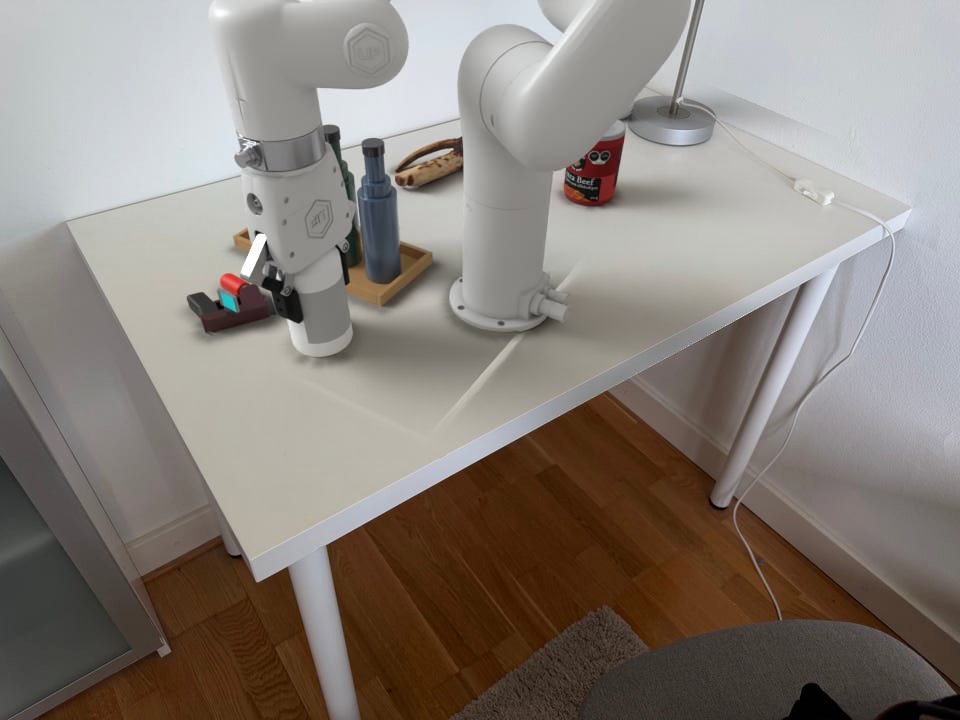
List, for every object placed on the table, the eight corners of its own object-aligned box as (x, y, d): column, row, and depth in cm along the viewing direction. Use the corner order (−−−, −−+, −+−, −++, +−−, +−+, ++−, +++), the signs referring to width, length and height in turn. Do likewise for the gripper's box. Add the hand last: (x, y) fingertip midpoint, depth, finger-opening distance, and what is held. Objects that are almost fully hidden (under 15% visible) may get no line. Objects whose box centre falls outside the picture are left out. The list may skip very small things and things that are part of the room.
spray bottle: (341, 362, 75) (314, 219, 63) (283, 354, 76) (245, 211, 64) (361, 323, 80) (340, 183, 68) (306, 315, 81) (275, 176, 69)
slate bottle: (408, 270, 88) (402, 139, 76) (387, 288, 85) (376, 155, 73) (380, 259, 90) (369, 130, 78) (358, 276, 87) (343, 144, 75)
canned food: (552, 192, 106) (559, 123, 98) (587, 177, 110) (596, 109, 102) (589, 212, 101) (600, 141, 94) (624, 195, 105) (637, 126, 98)
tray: (433, 265, 90) (432, 252, 89) (381, 310, 83) (380, 296, 82) (293, 213, 99) (291, 200, 98) (235, 249, 92) (232, 236, 90)
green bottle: (369, 255, 91) (357, 126, 79) (347, 272, 88) (331, 141, 76) (342, 245, 92) (326, 117, 80) (319, 261, 89) (299, 131, 77)
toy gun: (305, 314, 82) (299, 281, 79) (201, 343, 78) (190, 309, 75) (282, 272, 88) (276, 239, 85) (185, 296, 84) (174, 263, 81)
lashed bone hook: (452, 147, 117) (370, 180, 107) (452, 120, 114) (368, 151, 104) (492, 164, 112) (411, 200, 102) (493, 136, 109) (409, 170, 99)
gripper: (243, 195, 55) (285, 357, 67) (374, 117, 66) (390, 269, 78) (178, 172, 58) (230, 332, 70) (314, 101, 69) (339, 250, 81)
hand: (314, 298), depth 74 cm, fingers closed on spray bottle, 6 cm apart
